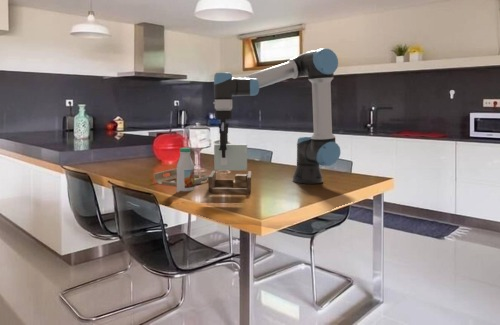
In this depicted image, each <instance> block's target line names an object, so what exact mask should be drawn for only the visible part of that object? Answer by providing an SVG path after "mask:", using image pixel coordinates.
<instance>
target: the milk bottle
mask: <svg viewBox="0 0 500 325" xmlns="http://www.w3.org/2000/svg"><path fill="white" fill-rule="evenodd" d="M191 153H192V152H191V147H179V154H180V155H179V159H178V161H177V165H176V169H177V186H176V192H177V193H180V192H192V191H194V190H195V185H194V175H195V165H194V164H195V163H194V161H193V160H192V158H191Z"/></svg>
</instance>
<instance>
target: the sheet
mask: <svg viewBox="0 0 500 325" xmlns="http://www.w3.org/2000/svg"><path fill="white" fill-rule="evenodd" d="M213 145H214V146H213V147H214V148H213V151H214V152H213V159H214V162H213V164H214V166H213V168H214V170H213V171H248V144H247V143H228V144H226V148H227V149H226V150H227V165H221V152H220V150H219V149H220V143H214V144H213Z"/></svg>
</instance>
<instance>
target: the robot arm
mask: <svg viewBox="0 0 500 325" xmlns="http://www.w3.org/2000/svg"><path fill="white" fill-rule="evenodd" d="M338 67H339V58H338V55H337V54H336V52H334V51H333V50H332V49H330V48H325V47H324V48H318V49H313V50H309V51H306V52H304V53H301V54H299V55H297V56H294V57H292V58H289V59H288V60H287V62H284V63H280V64H277V65H274V66H271V67H268V68H265V69H261V70H259V71H255V72H252V73H249V74H246V75H244V76H243V75H242V76H240V77H233V75H232V74H233V73H231V72H216V73H215V74H214V77H213V93H214V101H213V105H214V109H215V110H214V119H215V120H220V121H219V122H220V123H218V128H219V132H218V133H219V144H220V149H219V150H220V152H221V165H227V150H226V149H227V148H226V144H229V143H228V140H229V139H228V138H229V135H228V134H229V123H228V121H227V120H232V119H233V110H232V109H233V97H245V96H247V97H249V96H250V97H252V96H253V97H254V96H257V95H258V94H259V92H260V89H261V88H264V87H268V86H270V85H274V84H275V83H276V84H277V83H279V82H282V81H285V80H288V79H294V80H295V79H298V78H302V77H308V78H307V80H308V81H309V82H310V83H311V94H312V95H311V96H312V118H313V119H312V120H313V121H312V124H313V135H312V136H300V137H299V138H297V142H296V166H295V170H294V172H293V175H292V182H295V183H297V184H298V183H299V184H308V185H309V184H310V185H312V184H313V185H315V184H321V183H323V175H322V174H323V173H322V172H321V171H322V170H321V167H320V166H325V167H331V166H333V165H334V164H336V163H337V161H338V160H339V159H340V157H341V147H340V145H339V144H338V143H337V142H336V136H335V135H334V133H333V124H332V123H333V122H332V117H333V116H332V91H331V90H332V89H331V88H332V87H331V82H332V80H334V78H335V77H334V76H335V75H334V74H335V72H336V71H337V69H338Z"/></svg>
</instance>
